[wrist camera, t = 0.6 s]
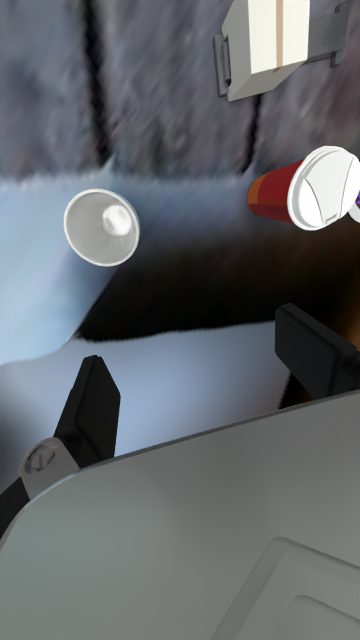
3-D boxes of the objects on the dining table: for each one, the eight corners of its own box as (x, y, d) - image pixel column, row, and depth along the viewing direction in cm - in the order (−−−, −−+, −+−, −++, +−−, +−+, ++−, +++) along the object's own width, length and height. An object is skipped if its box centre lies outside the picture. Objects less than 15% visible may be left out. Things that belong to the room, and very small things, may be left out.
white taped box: (221, 26, 25) (247, -31, 19) (270, 14, 25) (312, -48, 19) (227, 102, 28) (251, 74, 22) (271, 90, 28) (307, 59, 22)
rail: (212, 39, 25) (216, 30, 24) (343, 6, 26) (354, -5, 24) (218, 97, 28) (222, 91, 26) (337, 66, 28) (347, 58, 27)
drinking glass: (122, 183, 31) (106, 168, 18) (149, 227, 34) (154, 242, 21) (84, 211, 31) (43, 217, 18) (115, 251, 35) (98, 280, 22)
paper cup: (289, 209, 36) (365, 213, 24) (246, 229, 36) (299, 243, 24) (282, 155, 32) (368, 125, 20) (234, 178, 32) (290, 163, 20)
